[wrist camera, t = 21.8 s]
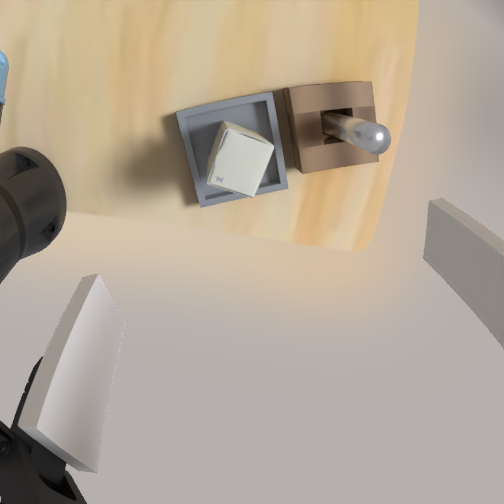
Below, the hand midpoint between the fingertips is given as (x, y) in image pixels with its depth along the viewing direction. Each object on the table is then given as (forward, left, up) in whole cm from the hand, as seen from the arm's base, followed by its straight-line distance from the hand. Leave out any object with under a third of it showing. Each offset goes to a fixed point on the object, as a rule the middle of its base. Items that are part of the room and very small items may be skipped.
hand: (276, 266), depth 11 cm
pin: (+12, 0, -27) cm, 29 cm away
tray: (0, 0, -27) cm, 27 cm away
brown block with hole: (+12, 0, -27) cm, 29 cm away
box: (0, 0, -26) cm, 26 cm away
